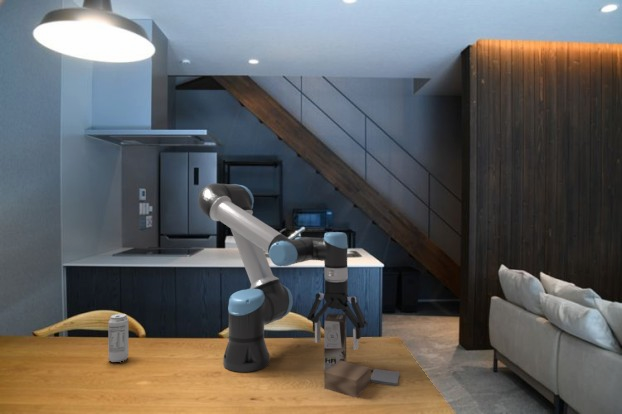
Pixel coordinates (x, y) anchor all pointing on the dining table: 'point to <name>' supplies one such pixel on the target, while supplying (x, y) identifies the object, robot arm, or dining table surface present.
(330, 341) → the coffee box
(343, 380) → the walnut block
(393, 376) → the slate coaster
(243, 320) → the robot arm
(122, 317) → the energy drink can
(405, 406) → the dining table surface
